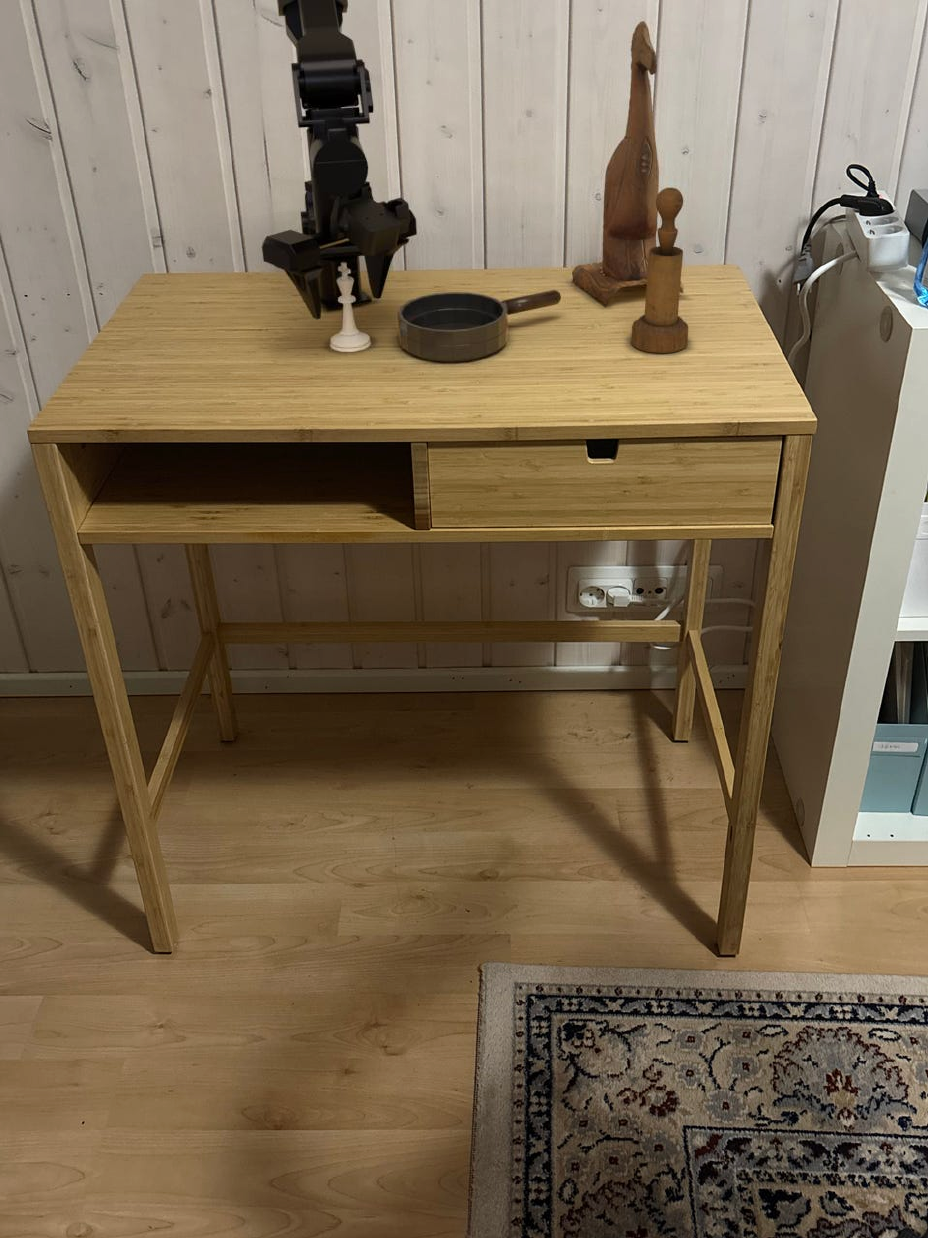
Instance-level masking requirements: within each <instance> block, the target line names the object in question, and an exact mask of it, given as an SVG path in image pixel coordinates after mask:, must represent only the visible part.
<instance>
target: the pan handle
mask: <svg viewBox="0 0 928 1238" xmlns="http://www.w3.org/2000/svg"><path fill="white" fill-rule="evenodd" d="M561 299H562V295H561V293H560V292H559V291H558V290H556V289H550V290H546V291H542V292H537V293H532V294H528V295H521V296H518V297H513V298H507V299H504V300H500V301H501V302H502V303H504V304H505V306H506V308H507V309H508V316H510V315H514V314H519V313H523V312H524V313H525V312H528V311H533V310H538V309H543V308H547V307H552V306H556V305H558V304H559V303H561ZM495 306H496V305H495V304H494V312H495V313H496V314H498V312H499V307H498V306H496V307H495ZM498 315H499V314H498Z"/></svg>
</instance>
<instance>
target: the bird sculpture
mask: <svg viewBox="0 0 928 1238" xmlns="http://www.w3.org/2000/svg"><path fill="white" fill-rule="evenodd" d="M630 53H631V54H630V56H631V63H630V70H631V71H630V91H629V100H628V113H627V114H628V115H627V119H626V120H627V121H626V127H625V135H624V137H623V138H622V139H621V140H620V142H619V143H618V144H617V146H616V147H615V148H614V151H613V153H612V154H611V156H610V159H609V161H608V163H607V165H606V169H605V177H604V191H603V214H602V216H603V217H602V218H603V219H602V220H603V222H602V223H603V224H602V261H600V262H593V263H585V264H584V263H583V264H578V265H576V266H575V267H574V269H572V272H571V275H572V281H571V283H574V285H576V284H577V286H578V287H579V288H580V289H584V291H585V292H587V293H588V294H589V295H591V296H592V297H593V298H595V299H597V301H600V302H601V303H602V304H603V305H606V304H607V302H608V301H609V299H611V297H612V296H613V295H614V294H616V293H617V292H618V291H619V290H620V289H621V288H625V287H633V286H640V285H647V274H648V257H649V250H650V249H651V248H653V247H657V233H658V217H659V216H658V214H659V212H658V210H657V207H656V198H657V196H658V194H659V189H660V188H659V187H660V185H659V184H660V181H659V180H660V167H659V159H658V150H657V149H658V148H657V141H656V133H655V123H654V110H653V101H652V89H651V88H652V87H651V82H650V81H651V80H650V77H649V75H650V76H653V75H656V73H657V69H658V67H657V66H658V64H657V53H656V51H655V49H654V46H653V43H652V40H651V36H650V29H649V27H648V24H647V23H646V22H645V21H644V20H642V21H640V22H639V23H638V24H637V25H636V26H635V29H634V31H633V33H632V37H631V46H630ZM680 294H682V295H684V284H683V282H682V281H680Z"/></svg>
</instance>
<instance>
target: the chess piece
mask: <svg viewBox="0 0 928 1238" xmlns="http://www.w3.org/2000/svg"><path fill="white" fill-rule="evenodd" d="M338 271H341V272H342V277H339V278H338V279H337V284H338V286H339V288H340V291H341V293H342V296H340V297H339V298H338V302H340V303H343V308H342V328H341V329H340V331H339V332H338V333H336V334H334V335H333V336H331V338H330V340H329V341H330V344H329V346H330V348H331V349H332V350H334V351H337V352H341V353H355V352H360V351H363V350H366V349H368V348H369V347H370V346H371V344H372V343H371V342H372V341H371V337H370V336H369V334H367V333H365V332H362V331H360V330H359V329H358V328H357V326H356V322H355V317H354V312H353V306H351V303H353V302H355V301H356V299H355V297H354V296H352V295H351V291H352V286H353V283H354V279H353V278H352V277H349V276H347V274H349V273H351V272H350V269H348V268H347V264H346V262H342V263H341V266H340V267H338Z"/></svg>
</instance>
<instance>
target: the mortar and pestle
mask: <svg viewBox="0 0 928 1238" xmlns="http://www.w3.org/2000/svg"><path fill="white" fill-rule="evenodd" d="M683 206H684V196H683V194H682V192H681V191H680V190H679V189H677V188H675V187H665V188H663V189H661V190H660V191H658V196H657V198H656V207H657V210H658V214H659V216H660V219H661V226H660V227H659V228H657V238H658V244H659V245H657V246H656V247H653V248H651V249H650V250H649V257H648V274H647V280H646V281H647V284H646V289H645V303H644V304H645V305H644V314H643V315H641V316H640V317H639V318H637V319H636V320H635V321H634V322H633V323H632V326H631V338H630V340H631V341H630V343H631V345H632V346H633V347H634V348H636V349H638V350H639V351H643V352H647V353H659V354H671V353H676V352H680V351H682V350H684V349H685V348H686V347H687V346H688V341H689V339H688V338H689V324H688V323H687V322H686V321H685V320H684V319H683V318H682V317H680V316H679V308H680V307H679V305H680V294H681V293H680V281H681V279H682V270H683V269H682V268H683V260H684V259H683V257H684V250H683V249H682V248H680V247H678V246H675V243H676V240H677V237H678V233H679V230H678V228H677V227H676V224H675V223H676V218H677V216H678V215H679V213H680V211H681V210H682V208H683ZM681 282H682V281H681Z"/></svg>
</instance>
